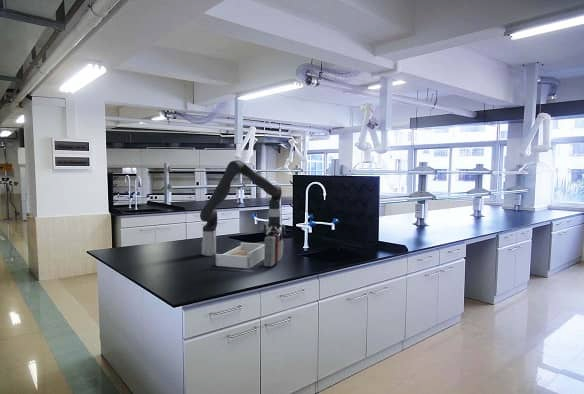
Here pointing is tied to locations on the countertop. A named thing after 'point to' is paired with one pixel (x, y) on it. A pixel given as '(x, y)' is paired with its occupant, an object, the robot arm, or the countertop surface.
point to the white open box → (242, 261)
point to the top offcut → (240, 253)
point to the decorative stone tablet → (273, 250)
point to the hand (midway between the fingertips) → (274, 240)
